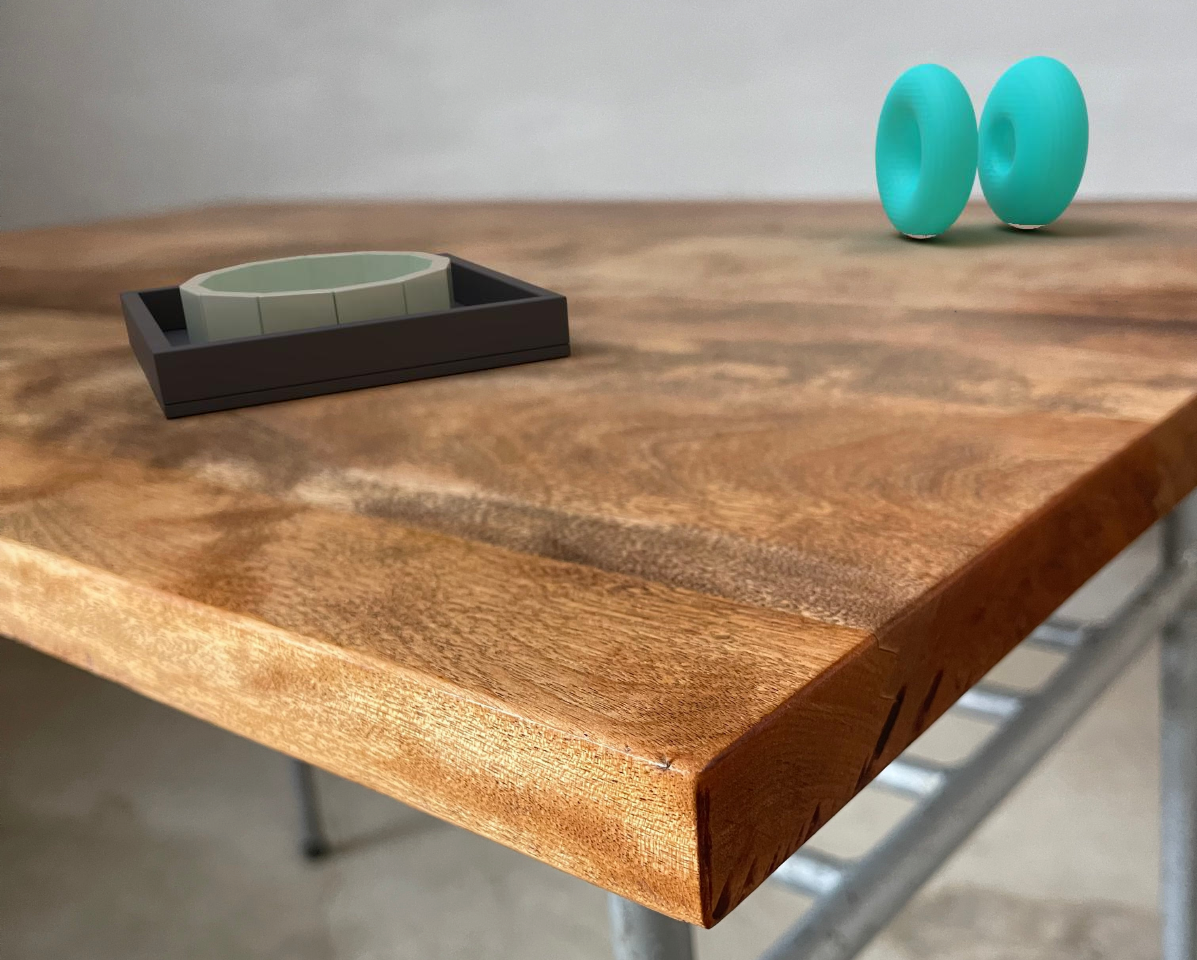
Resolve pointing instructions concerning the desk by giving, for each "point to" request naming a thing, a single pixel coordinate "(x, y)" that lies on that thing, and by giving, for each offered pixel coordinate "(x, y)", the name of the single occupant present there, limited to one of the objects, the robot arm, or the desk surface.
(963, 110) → the donuts
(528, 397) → the desk surface
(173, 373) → the tray
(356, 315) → the segmented polygonal ring
